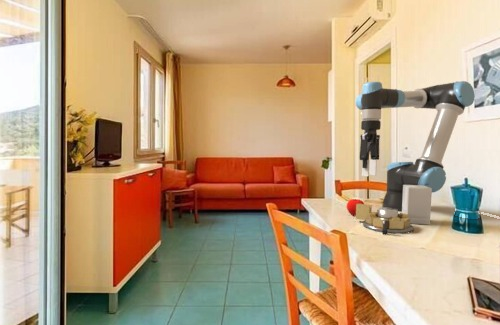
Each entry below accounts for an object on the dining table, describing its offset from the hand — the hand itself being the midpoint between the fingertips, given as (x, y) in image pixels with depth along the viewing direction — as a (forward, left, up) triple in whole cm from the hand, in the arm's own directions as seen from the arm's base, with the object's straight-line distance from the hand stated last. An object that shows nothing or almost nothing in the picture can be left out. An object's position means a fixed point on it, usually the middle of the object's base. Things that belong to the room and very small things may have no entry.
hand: (369, 175), depth 138 cm
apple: (-4, -8, -19) cm, 21 cm away
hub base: (+7, +10, -19) cm, 23 cm away
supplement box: (-11, +15, -19) cm, 27 cm away
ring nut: (+6, +8, -18) cm, 20 cm away
